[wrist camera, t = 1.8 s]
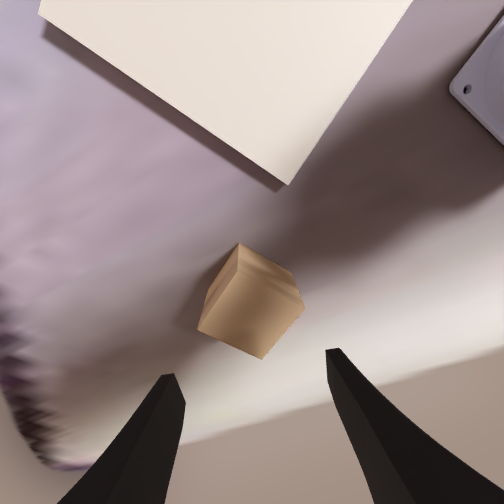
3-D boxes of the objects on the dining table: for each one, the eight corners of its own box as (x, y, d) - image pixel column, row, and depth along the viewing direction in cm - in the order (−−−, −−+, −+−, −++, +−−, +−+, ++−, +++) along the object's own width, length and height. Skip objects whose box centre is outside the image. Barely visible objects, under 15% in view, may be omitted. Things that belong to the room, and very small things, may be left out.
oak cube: (290, 272, 20) (305, 308, 15) (257, 314, 21) (261, 359, 16) (239, 241, 18) (237, 270, 14) (208, 289, 20) (197, 329, 15)
